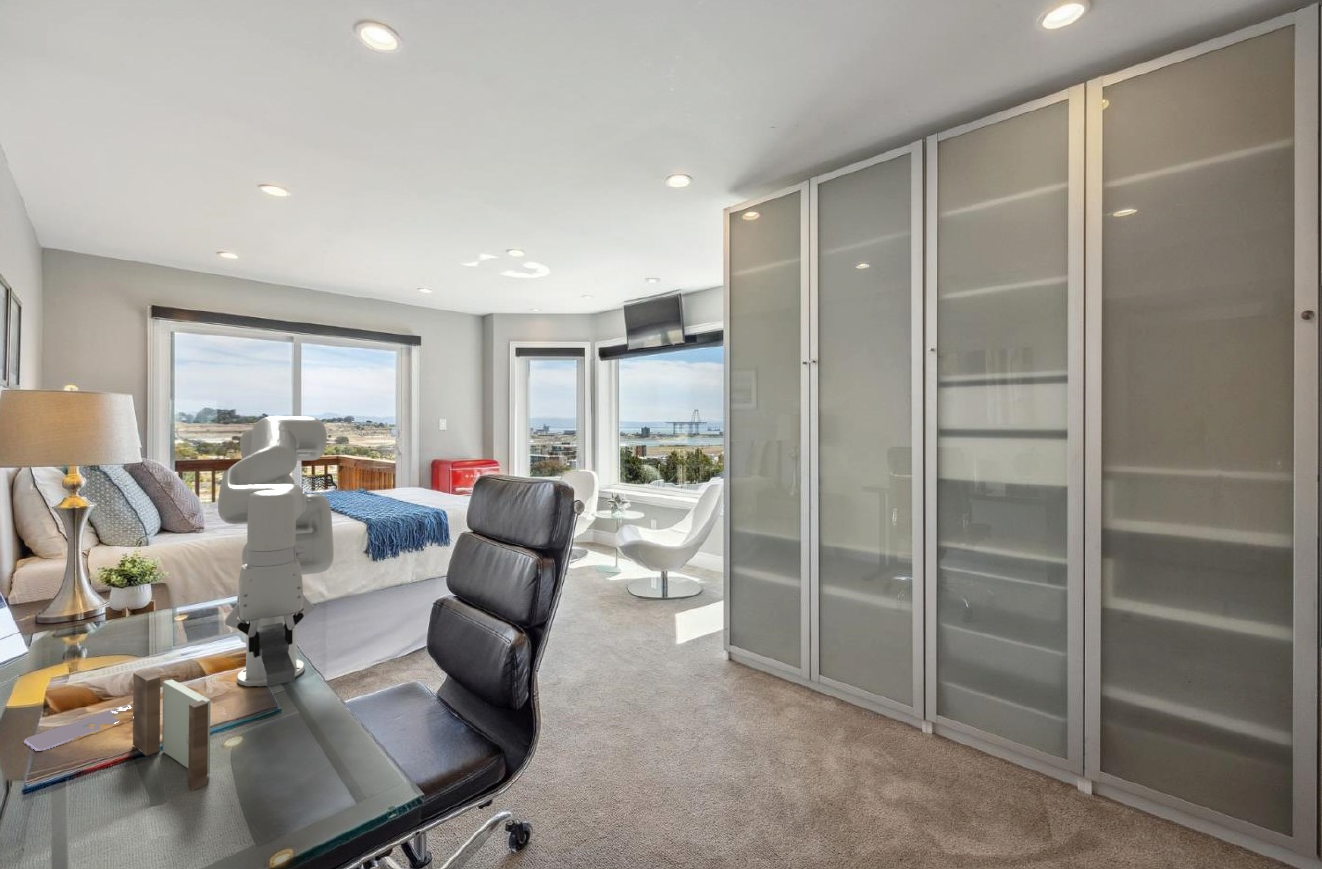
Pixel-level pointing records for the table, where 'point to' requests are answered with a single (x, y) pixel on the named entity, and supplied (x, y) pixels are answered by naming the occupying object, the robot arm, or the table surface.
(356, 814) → the table surface
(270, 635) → the dark gray beam
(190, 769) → the wooden posts
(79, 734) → the mobile phone
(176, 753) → the door
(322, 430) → the robot arm
